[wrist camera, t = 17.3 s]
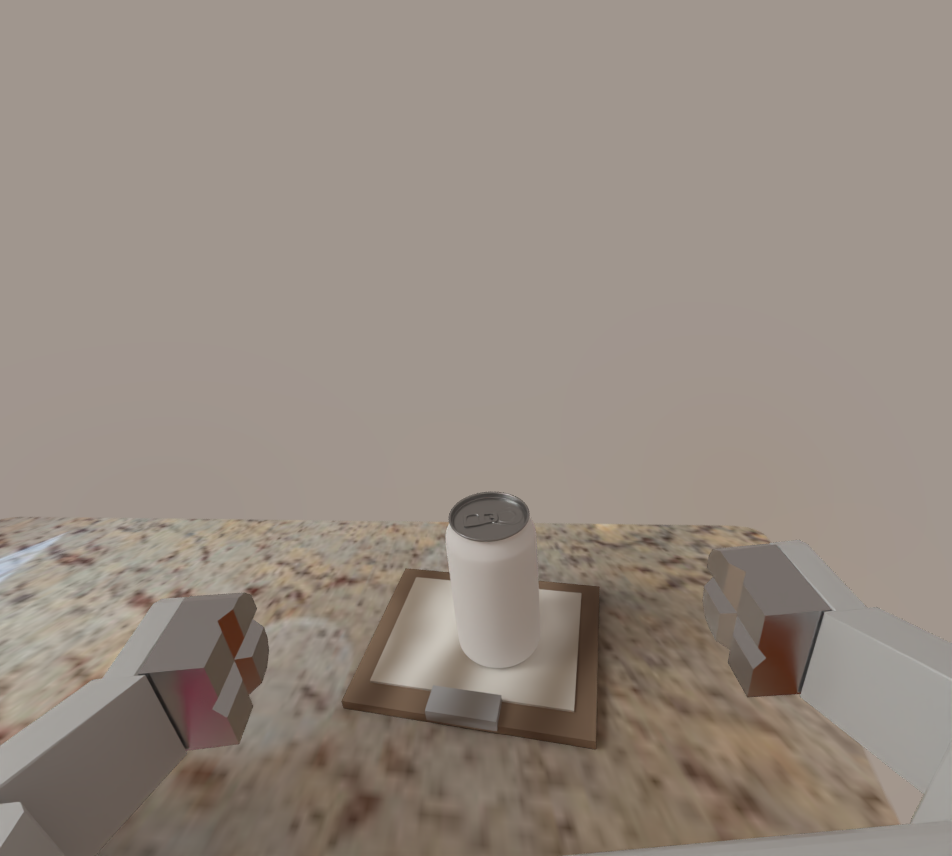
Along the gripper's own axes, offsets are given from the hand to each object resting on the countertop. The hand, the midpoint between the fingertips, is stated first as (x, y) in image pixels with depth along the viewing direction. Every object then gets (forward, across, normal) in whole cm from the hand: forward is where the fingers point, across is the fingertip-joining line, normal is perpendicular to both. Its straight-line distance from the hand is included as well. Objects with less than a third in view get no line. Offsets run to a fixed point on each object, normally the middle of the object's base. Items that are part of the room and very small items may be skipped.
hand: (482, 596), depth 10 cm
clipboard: (+23, +1, +28) cm, 36 cm away
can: (+23, 0, +27) cm, 36 cm away
